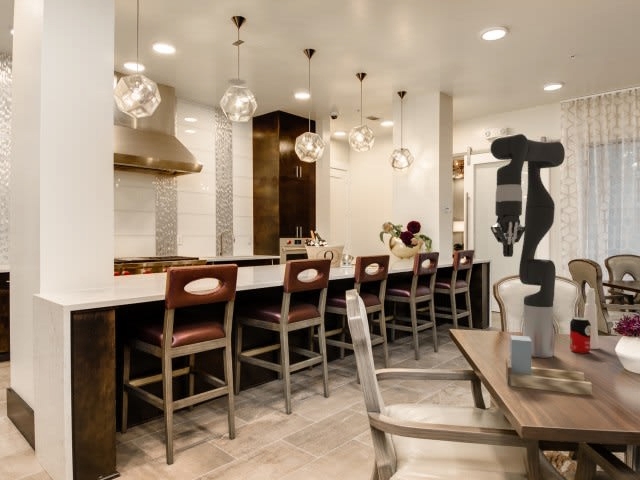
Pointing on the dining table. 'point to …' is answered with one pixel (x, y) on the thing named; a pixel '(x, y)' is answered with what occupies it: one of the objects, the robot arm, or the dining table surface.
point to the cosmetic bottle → (592, 318)
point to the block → (520, 354)
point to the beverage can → (580, 335)
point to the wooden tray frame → (549, 380)
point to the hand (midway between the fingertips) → (507, 256)
